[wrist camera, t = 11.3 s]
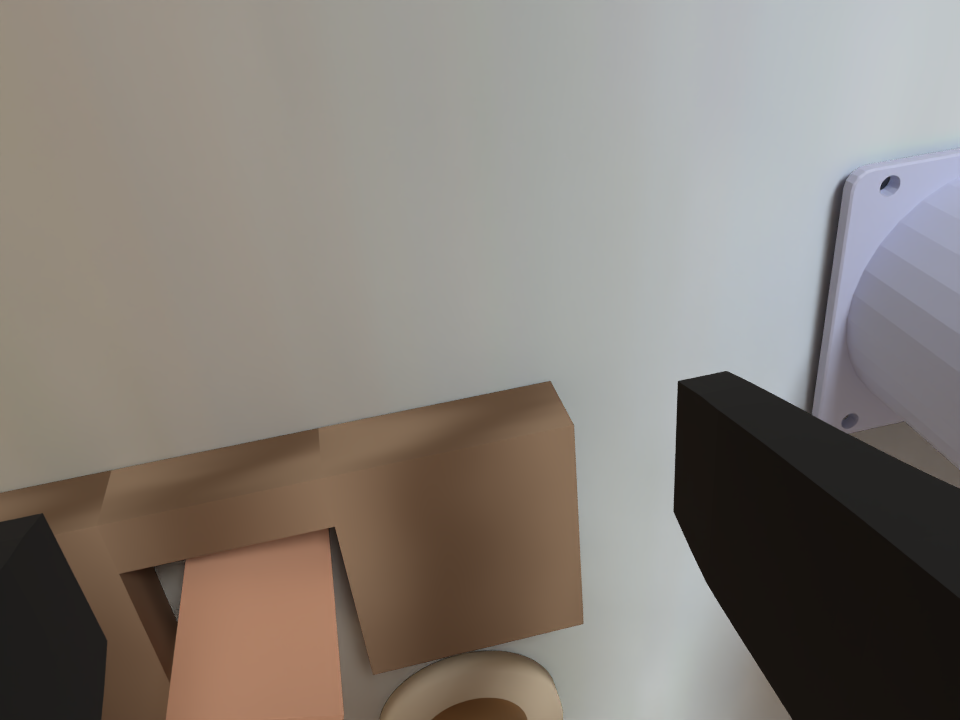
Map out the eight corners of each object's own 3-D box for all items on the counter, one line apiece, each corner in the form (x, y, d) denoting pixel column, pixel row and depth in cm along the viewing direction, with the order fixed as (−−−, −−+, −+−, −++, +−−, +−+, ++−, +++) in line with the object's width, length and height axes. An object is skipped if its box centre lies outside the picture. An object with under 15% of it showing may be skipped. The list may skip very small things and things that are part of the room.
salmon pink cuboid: (328, 522, 22) (344, 714, 17) (316, 615, 24) (328, 815, 19) (190, 522, 21) (164, 726, 16) (188, 619, 23) (165, 832, 18)
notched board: (550, 380, 21) (573, 425, 20) (562, 573, 25) (583, 623, 23) (-64, 505, 20) (-96, 566, 18) (47, 693, 23) (30, 758, 22)
